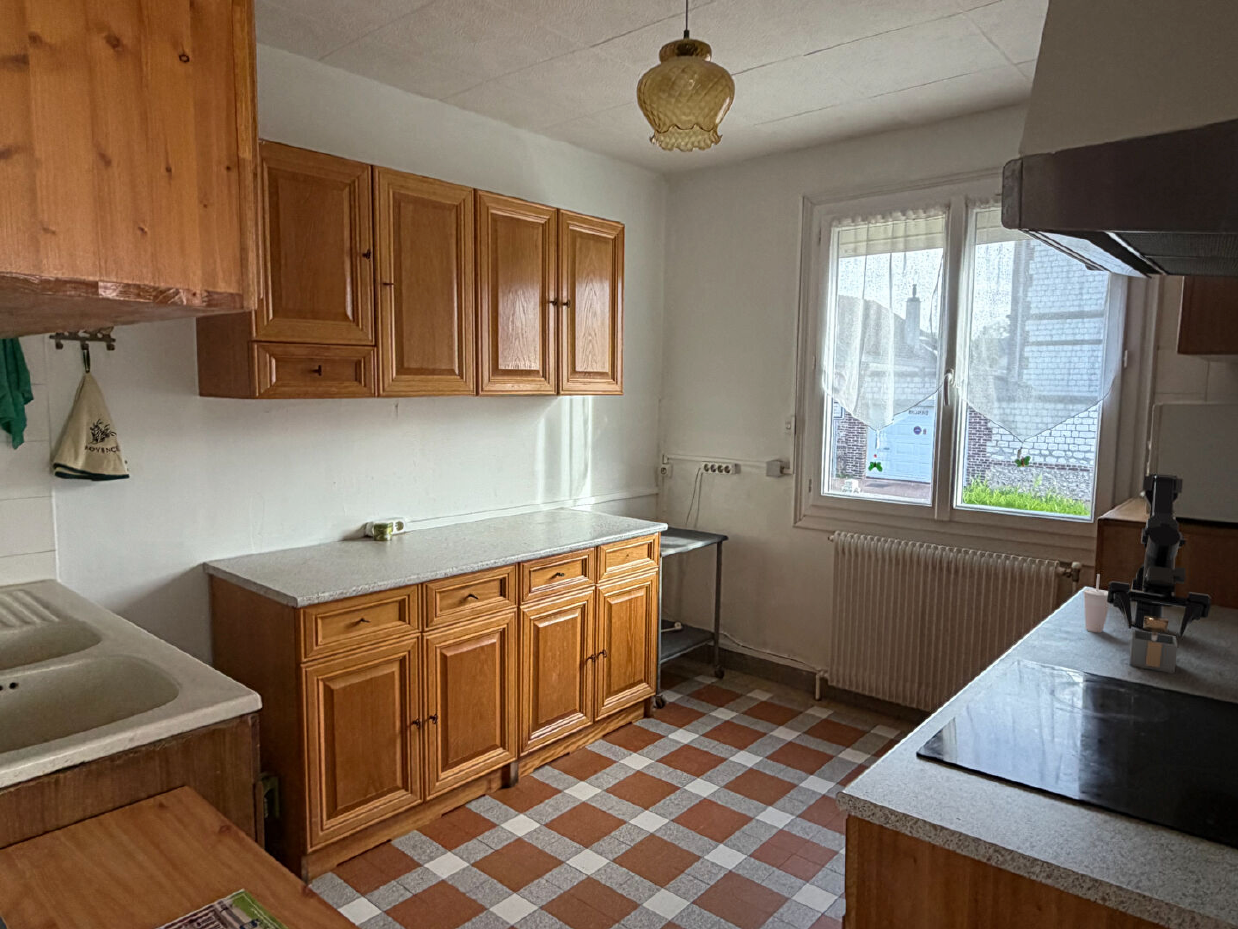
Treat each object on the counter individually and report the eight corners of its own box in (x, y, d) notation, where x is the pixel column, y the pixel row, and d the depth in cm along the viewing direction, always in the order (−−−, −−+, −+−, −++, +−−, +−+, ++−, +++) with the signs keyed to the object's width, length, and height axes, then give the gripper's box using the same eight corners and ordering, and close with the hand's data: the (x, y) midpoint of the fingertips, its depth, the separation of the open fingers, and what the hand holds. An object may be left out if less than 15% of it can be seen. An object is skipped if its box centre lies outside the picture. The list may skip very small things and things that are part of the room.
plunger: (1134, 652, 179) (1139, 612, 178) (1168, 658, 176) (1172, 618, 175) (1135, 660, 174) (1139, 619, 173) (1169, 666, 171) (1174, 625, 170)
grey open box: (1129, 655, 181) (1132, 629, 180) (1172, 662, 176) (1175, 636, 176) (1129, 666, 173) (1132, 639, 172) (1174, 675, 169) (1177, 647, 168)
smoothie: (1101, 626, 201) (1107, 572, 200) (1114, 635, 195) (1120, 578, 194) (1074, 625, 202) (1080, 570, 200) (1086, 633, 196) (1092, 577, 194)
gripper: (1113, 545, 181) (1107, 604, 173) (1215, 558, 171) (1214, 621, 163) (1109, 573, 188) (1104, 630, 180) (1207, 586, 178) (1206, 648, 170)
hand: (1155, 632), depth 173 cm, fingers open, 9 cm apart
